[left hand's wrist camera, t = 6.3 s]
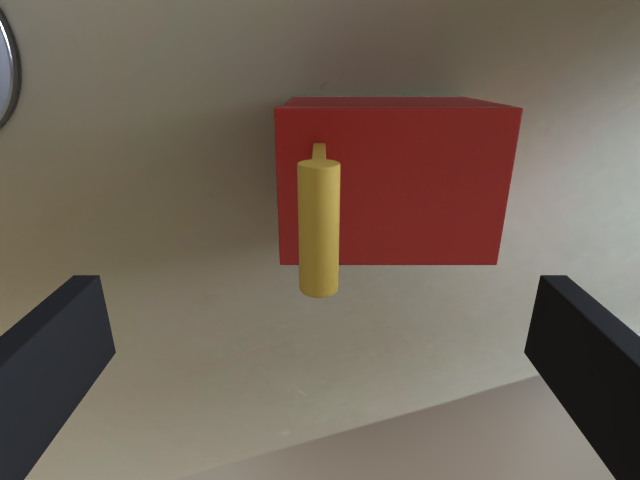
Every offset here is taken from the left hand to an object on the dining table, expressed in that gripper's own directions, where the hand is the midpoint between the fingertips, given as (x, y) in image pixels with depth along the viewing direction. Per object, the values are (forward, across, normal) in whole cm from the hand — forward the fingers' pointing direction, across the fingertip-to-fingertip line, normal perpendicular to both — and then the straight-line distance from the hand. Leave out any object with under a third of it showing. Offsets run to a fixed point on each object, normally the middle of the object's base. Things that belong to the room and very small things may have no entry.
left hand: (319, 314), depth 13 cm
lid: (+15, -4, 0) cm, 16 cm away
